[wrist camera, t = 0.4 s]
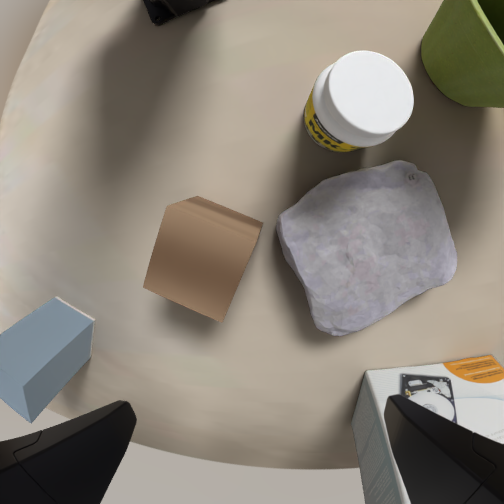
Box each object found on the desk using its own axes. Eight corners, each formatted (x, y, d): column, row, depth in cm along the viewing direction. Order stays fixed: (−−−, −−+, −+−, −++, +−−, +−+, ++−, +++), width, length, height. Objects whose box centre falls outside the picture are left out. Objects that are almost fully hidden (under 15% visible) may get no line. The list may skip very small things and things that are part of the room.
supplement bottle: (292, 135, 19) (300, 111, 11) (317, 77, 18) (338, 25, 10) (355, 165, 19) (402, 162, 11) (379, 107, 18) (433, 76, 10)
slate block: (56, 296, 25) (-20, 348, 14) (95, 319, 25) (22, 386, 14) (55, 333, 26) (-9, 389, 15) (91, 356, 26) (31, 423, 15)
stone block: (264, 216, 23) (320, 331, 23) (255, 212, 18) (325, 355, 18) (396, 151, 21) (446, 263, 21) (417, 133, 16) (476, 271, 16)
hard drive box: (492, 350, 22) (589, 477, 3) (469, 404, 24) (533, 529, 5) (362, 367, 23) (420, 585, 4) (347, 424, 25) (372, 602, 6)
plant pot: (420, -15, 14) (475, -80, 3) (515, 74, 15) (595, 54, 4) (364, 64, 17) (429, -12, 6) (477, 165, 18) (581, 175, 7)
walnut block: (197, 195, 21) (166, 205, 15) (263, 222, 21) (255, 242, 15) (176, 258, 22) (142, 287, 16) (237, 284, 22) (222, 322, 17)
